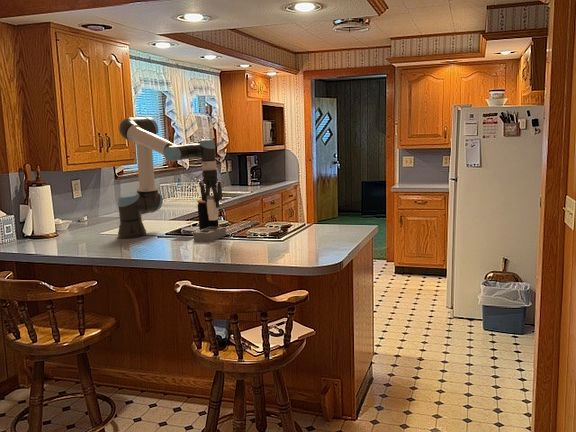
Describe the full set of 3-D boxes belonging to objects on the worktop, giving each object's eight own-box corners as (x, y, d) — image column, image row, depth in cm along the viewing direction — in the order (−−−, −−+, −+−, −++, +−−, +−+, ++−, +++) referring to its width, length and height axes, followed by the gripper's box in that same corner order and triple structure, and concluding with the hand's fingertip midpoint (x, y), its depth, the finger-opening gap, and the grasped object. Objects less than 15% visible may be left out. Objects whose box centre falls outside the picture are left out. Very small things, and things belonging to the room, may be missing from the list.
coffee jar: (215, 233, 305) (212, 201, 302) (196, 233, 307) (194, 201, 304) (221, 229, 315) (219, 198, 312) (203, 229, 317) (201, 198, 314)
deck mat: (171, 241, 291) (171, 240, 290) (182, 237, 300) (182, 236, 299) (187, 242, 286) (187, 241, 286) (198, 238, 295) (198, 237, 295)
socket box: (193, 242, 287) (193, 232, 286) (210, 235, 301) (209, 226, 300) (210, 243, 282) (209, 233, 282) (226, 236, 297) (225, 226, 296)
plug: (208, 220, 292) (206, 195, 290) (212, 219, 296) (210, 194, 293) (214, 220, 291) (212, 195, 289) (218, 219, 294) (216, 194, 292)
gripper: (191, 170, 289) (195, 214, 293) (219, 169, 282) (223, 215, 286) (199, 168, 296) (203, 212, 300) (227, 168, 289) (230, 212, 293)
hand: (213, 213), depth 293 cm, fingers closed on plug, 4 cm apart
